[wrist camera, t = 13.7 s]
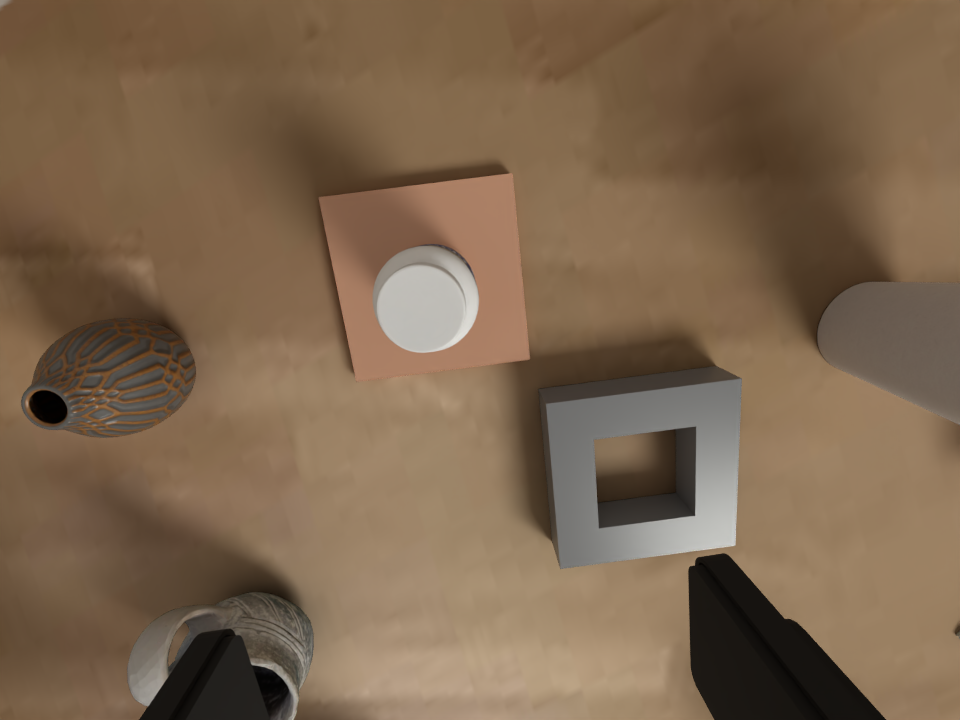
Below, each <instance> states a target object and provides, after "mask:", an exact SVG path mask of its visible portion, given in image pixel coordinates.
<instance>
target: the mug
mask: <svg viewBox="0 0 960 720" xmlns="http://www.w3.org/2000/svg"><path fill="white" fill-rule="evenodd" d="M184 622H185V623H186V624H187V625H188V627H189V630H190V631H189V633H188V634H187V636H186V637H185V639H184V641H183V643H182V645H181V647H180V649H179V651H178V653H177V655H176V658H175V661H174V662H173V663H172V664H171V665H170V666H169V667H168V655H169V649H170V646H171V642H172V640H173V637H174V635H175V633H176V631H177V630H178V629H179V627H180V626H181V625H182V624H183V623H184ZM222 629H232V630H233V631H234V632H235V634H236V635H240V636H241V637H242V638H243V641H244V644H245V646H246V649H247V652H248V655H249V658H250V661H251V664H252V667H253V670H254V673H255V676H256V679H257V682H258V685H259V688H260V691H261V694H262V697H263V700H264V703H265V706H266V709H267V712H268V715H269V718H270V720H294V718H295V715H296V713H297V706H298V702H299V690H300V688H301V686H302V685H303V683H304V681H305V679H306V676H307V674H308V672H309V669H310V665H311V661H312V656H313V647H314V644H313V630H312V626H311V622H310V620H309V618H308V617H307V616H306V615H305V613H304V612H303V611H302V610H301V609H300V608H299V607H297V606H296V605H295V604H293V603H291V602H289V601H287V600H285V599H283V598H281V597H279V596H276V595H273V594H268V593H262V592H250V593H247V594H242V595H238V596H235V597H231V598H228V599H227V600H223V601H221V602H219V603H217V604H216V605H215V606H214V605H192V606H187V607H182V608H178V609H174V610H171V611H169V612H167V613H165V614H163V615H161V616H160V617H158V618H157V619H156V620H154V621H153V622H151V623H150V624H149V625H148V626H147V627H146V628H145V630H144V631H143V632H142V634H141V635H140V637H139V638H138V640H137V641H136V643H135V644H134V646H133V649H132V651H131V654H130V658H129V663H128V667H127V675H128V685H129V688H130V691H131V693H132V695H133V697H134V698H135V700H136V701H138V702H139V703H141V704H143V705H145V706H149V705H150V703H151V702H152V700H153V699H154V697H155V696H156V694H157V693H158V691H159V690H160V688H161V687H162V685H163V684H164V682H165V681H166V679H167V678H168V676H169V675H170V673H171V672H172V671H173V669H174V668H175V666H176V665H177V663H178V662H179V660H180V659H181V657H182V656H183V654H184V653H185V651H186V650H187V648H188V647H189V645H190V644H191V642H192V641H193V640H194V638H195V637H196V636H197V635H198V634H200V633H202V632H209V631H215V630H222Z"/></svg>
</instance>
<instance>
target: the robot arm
mask: <svg viewBox="0 0 960 720" xmlns="http://www.w3.org/2000/svg"><path fill="white" fill-rule="evenodd" d="M688 575H689V615H690V656H691V671H692V675H693V679H694V681H695V684H696V686H697V688H698V690H699V692H700V694H701V696H702V698H703V700H704V701H705V703H706V705H707V707H708V709H709V711H710V712H711V714H712V716H713V718H714V720H886V719H885V718H884V717H883V716H882V715H881V714H880V712H879V711H878V710H877V709H876V708H875V707H874V706H873V705H872V704H871V702H870V701H869V700H868V699H867V698H866V697H865V696H864V695H863V694H862V693H861V691H860V690H859V689H858V688H857V687H856V686H855V685H854V684H853V683H852V682H851V680H850V679H849V678H848V677H847V676H846V675H845V674H844V673H843V672H842V670H841V669H840V668H839V667H838V666H837V665H836V664H835V663H834V662H833V661H832V659H831V658H830V657H829V656H828V655H827V654H826V653H825V652H824V651H823V649H822V648H821V647H820V646H819V645H818V644H817V643H816V642H815V641H814V640H813V638H812V637H811V636H810V635H809V634H808V633H807V632H806V631H805V630H804V629H803V628H802V627H801V626H800V625H799V624H798V623H797V622H795V621H793V620H791V619H784V618H783V616H782V615H781V614H780V613H779V612H778V611H777V610H776V608H775V607H774V606H773V605H772V604H771V603H770V602H769V600H768V599H767V598H766V597H765V596H764V595H763V594H762V593H761V591H760V590H759V589H758V588H757V587H756V586H755V585H754V583H753V582H752V581H751V580H750V579H749V578H748V577H747V575H746V574H745V573H744V572H743V571H742V570H741V569H740V567H739V566H738V565H737V564H736V563H735V562H734V561H733V560H732V558H731V557H729V556H728V555H727V554H725V553H723V554H717V555H710V556H704V557H698V558H697V559H696V561H695V566H690V567H689V571H688ZM139 720H270V718H269V715H268V712H267V709H266V706H265V703H264V700H263V697H262V694H261V691H260V688H259V685H258V682H257V679H256V676H255V673H254V670H253V667H252V664H251V661H250V658H249V655H248V652H247V649H246V646H245V644H244V641H243V638H242V637H241V636H240V635H236V634H235V632H234V631H233V630H232V629H222V630H215V631H209V632H202V633H200V634H198V635H197V636H196V637H195V638H194V640H193V641H192V642H191V644H190V645H189V647H188V648H187V650H186V651H185V653H184V654H183V656H182V657H181V659H180V660H179V662H178V663H177V665H176V666H175V668H174V669H173V671H172V672H171V673H170V675H169V676H168V678H167V679H166V681H165V682H164V684H163V685H162V687H161V688H160V690H159V691H158V693H157V694H156V696H155V697H154V699H153V700H152V702H151V703H150V705H149V706H148V707H147V709H146V710H145V712H144V713H143V715H142V716H141V718H140V719H139Z"/></svg>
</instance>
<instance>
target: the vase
mask: <svg viewBox="0 0 960 720" xmlns="http://www.w3.org/2000/svg"><path fill="white" fill-rule="evenodd" d="M195 377H196V367H195V362H194V359H193V356H192V354H191V352H190V350H189V348H188V347H187V345H186V344H185V343H184V341H183V340H182V339H181V338H180V337H179V336H177V335H176V334H175V333H174V332H172V331H171V330H169V329H167V328H165V327H163V326H161V325H158V324H156V323H153V322H149V321H144V320H139V319H127V318H119V319H109V320H103V321H98V322H94V323H90V324H87V325H84V326H82V327H79V328H77V329H75V330H73V331H71V332H69V333H68V334H66V335H64V336H63V337H61V338H60V339H58V340H57V341H56V342H55V343H54V344H52V345H51V346H50V347H49V348H48V349H47V350H46V351H45V353H44V354H43V355H42V357H41V358H40V360H39V362H38V364H37V366H36V369H35V372H34V376H33V380H32V384H31V386H30V387H29V388H28V389H27V390H26V391H25V392H24V394H23V396H22V400H21V405H22V409H23V412H24V414H25V415H26V417H27V418H28V419H29V420H30V421H31V422H32V423H34V424H35V425H37V426H39V427H41V428H44V429H48V430H67V431H70V432H73V433H77V434H80V435H85V436H90V437H100V438H107V437H119V436H125V435H130V434H134V433H138V432H141V431H144V430H146V429H149V428H151V427H153V426H155V425H157V424H159V423H161V422H162V421H164V420H165V419H167V418H168V417H170V416H171V415H172V414H173V413H174V412H176V411H177V410H178V409H179V408H180V407H181V406H182V404H183V403H184V402H185V401H186V399H187V398H188V396H189V394H190V393H191V390H192V388H193V385H194V382H195Z"/></svg>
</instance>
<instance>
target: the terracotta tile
mask: <svg viewBox="0 0 960 720" xmlns="http://www.w3.org/2000/svg"><path fill="white" fill-rule="evenodd" d="M319 202H320V207H321V212H322V217H323V222H324V227H325V231H326V236H327V241H328V246H329V251H330V256H331V261H332V266H333V270H334V275H335V280H336V285H337V290H338V295H339V300H340V304H341V309H342V314H343V319H344V324H345V329H346V334H347V339H348V343H349V348H350V353H351V358H352V363H353V368H354V373H355V377H356V382H359V381H367V380H375V379H382V378H390V377H398V376H406V375H414V374H421V373H429V372H437V371H445V370H453V369H460V368H468V367H476V366H484V365H492V364H499V363H507V362H515V361H523V360H530V354H529V343H528V333H527V322H526V311H525V301H524V290H523V280H522V269H521V258H520V248H519V237H518V226H517V216H516V205H515V194H514V184H513V173H510V174H501V175H493V176H485V177H477V178H469V179H461V180H453V181H445V182H437V183H429V184H421V185H413V186H405V187H397V188H389V189H380V190H372V191H364V192H356V193H348V194H340V195H332V196H324V197H319ZM425 244H440V245H444V246H447V247H449V248H452V249H454V250H455V251H457V252H458V253H459V254H461V255H462V256H463V257H464V258H465V260H466V261H467V262H468V264H469V265H470V267H471V269H472V271H473V274H474V277H475V281H476V284H477V288H478V292H479V307H478V313H477V316H476V319H475V321H474V324H473V325H472V327H471V329H470V330H469V332H468V333H467V334H466V335H465V336H464V337H463V338H462V339H461V340H460V341H459V342H457V343H456V344H454V345H453V346H451V347H449V348H446V349H444V350H440V351H435V352H426V353H417V352H412V351H408V350H406V349H403V348H401V347H399V346H398V345H396V344H395V343H394V342H392V341H391V340H390V339H389V338H388V337H387V336H386V334H385V333H384V331H383V330H382V328H381V327H380V325H379V323H378V321H377V318H376V316H375V312H374V308H373V289H374V284H375V281H376V278H377V276H378V274H379V272H380V270H381V269H382V267H383V266H384V265H385V264H386V263H387V261H388V260H390V259H391V258H392V257H393V256H395V255H396V254H398V253H399V252H401V251H404V250H406V249H408V248H412V247H416V246H420V245H425Z"/></svg>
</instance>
